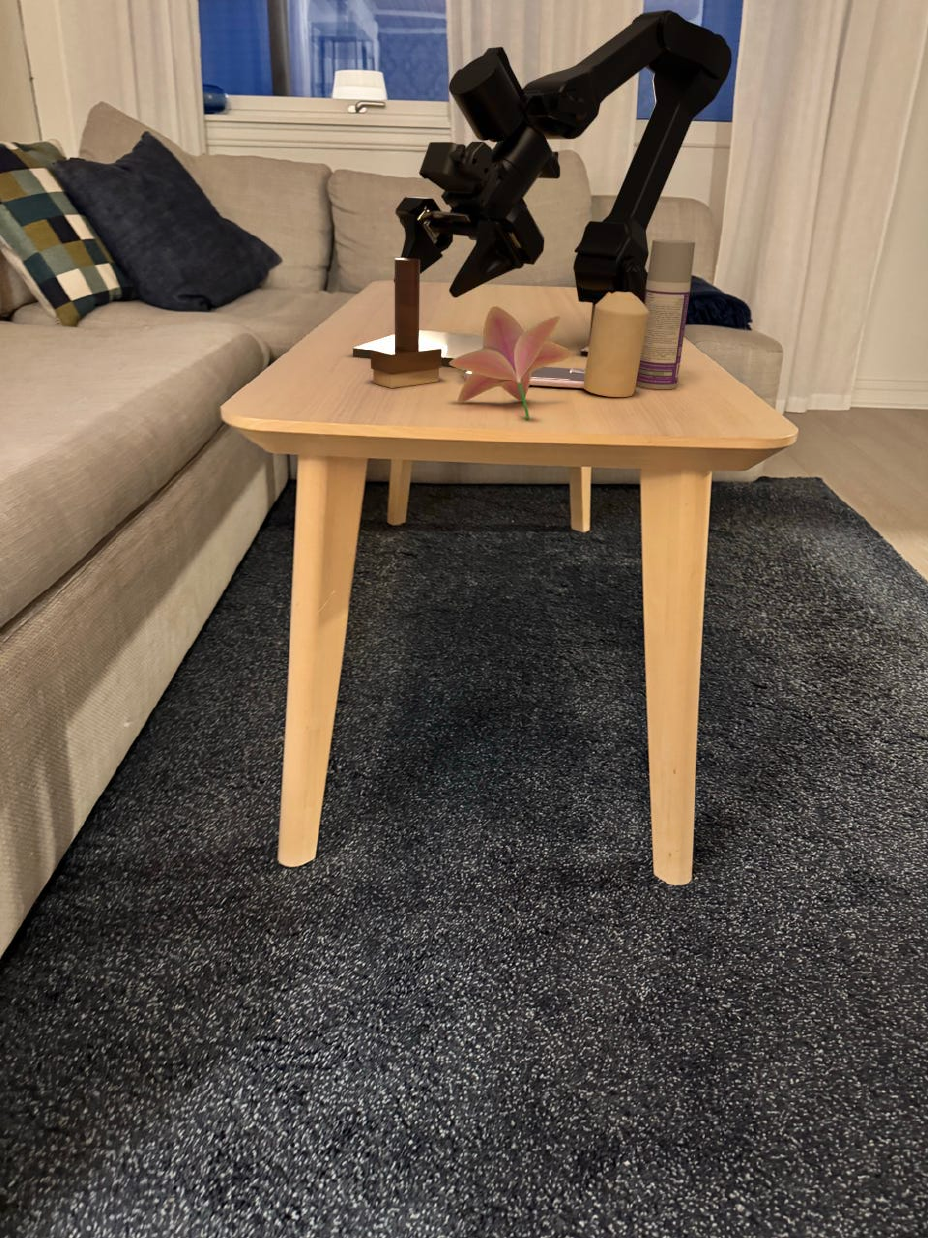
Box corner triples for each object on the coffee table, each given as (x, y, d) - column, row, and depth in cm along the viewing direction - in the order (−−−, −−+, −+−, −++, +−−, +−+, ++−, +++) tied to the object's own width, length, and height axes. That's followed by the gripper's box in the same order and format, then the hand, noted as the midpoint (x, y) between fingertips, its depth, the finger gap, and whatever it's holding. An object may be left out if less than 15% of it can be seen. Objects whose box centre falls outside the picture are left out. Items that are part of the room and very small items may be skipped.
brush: (370, 382, 98) (369, 258, 92) (421, 376, 102) (422, 256, 96) (390, 388, 95) (390, 261, 90) (441, 381, 100) (444, 259, 94)
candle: (633, 400, 95) (650, 300, 90) (580, 393, 95) (595, 293, 90) (635, 387, 99) (652, 292, 94) (585, 381, 100) (599, 285, 95)
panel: (410, 336, 127) (410, 328, 126) (513, 346, 122) (513, 338, 122) (352, 356, 111) (352, 347, 111) (467, 368, 107) (467, 359, 107)
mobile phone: (471, 360, 105) (601, 368, 104) (471, 368, 106) (600, 376, 104) (462, 372, 99) (601, 380, 97) (462, 381, 99) (600, 390, 98)
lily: (587, 416, 91) (564, 324, 91) (586, 393, 80) (560, 286, 80) (472, 448, 93) (450, 357, 93) (455, 429, 81) (429, 325, 81)
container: (650, 379, 105) (667, 238, 98) (685, 386, 102) (705, 241, 95) (626, 383, 102) (642, 239, 95) (661, 391, 99) (680, 242, 92)
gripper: (410, 114, 98) (327, 225, 96) (533, 110, 86) (440, 237, 84) (461, 196, 106) (386, 300, 104) (581, 203, 94) (498, 321, 92)
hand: (423, 289), depth 96 cm, fingers open, 9 cm apart
